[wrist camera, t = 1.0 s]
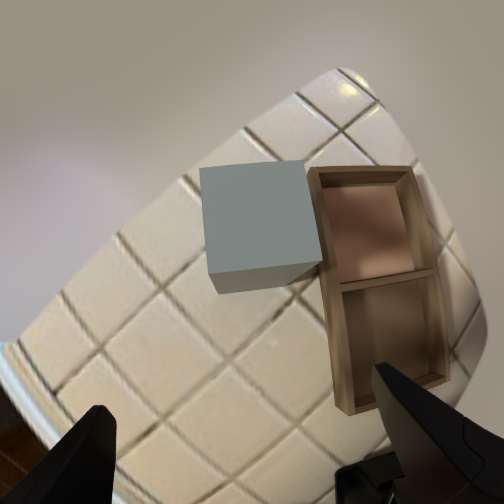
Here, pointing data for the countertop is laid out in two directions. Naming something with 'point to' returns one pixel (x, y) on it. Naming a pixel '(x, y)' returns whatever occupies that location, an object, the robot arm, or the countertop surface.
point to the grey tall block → (258, 225)
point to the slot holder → (377, 280)
